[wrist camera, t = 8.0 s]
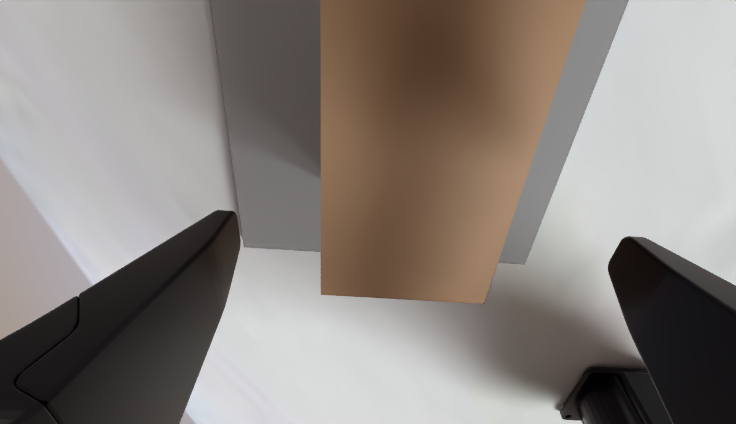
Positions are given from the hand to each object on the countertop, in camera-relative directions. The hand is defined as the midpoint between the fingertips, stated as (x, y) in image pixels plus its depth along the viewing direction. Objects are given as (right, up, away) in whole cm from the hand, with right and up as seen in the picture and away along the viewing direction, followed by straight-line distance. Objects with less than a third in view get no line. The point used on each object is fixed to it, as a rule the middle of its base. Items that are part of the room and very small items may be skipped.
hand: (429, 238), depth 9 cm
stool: (0, +6, +8) cm, 10 cm away
